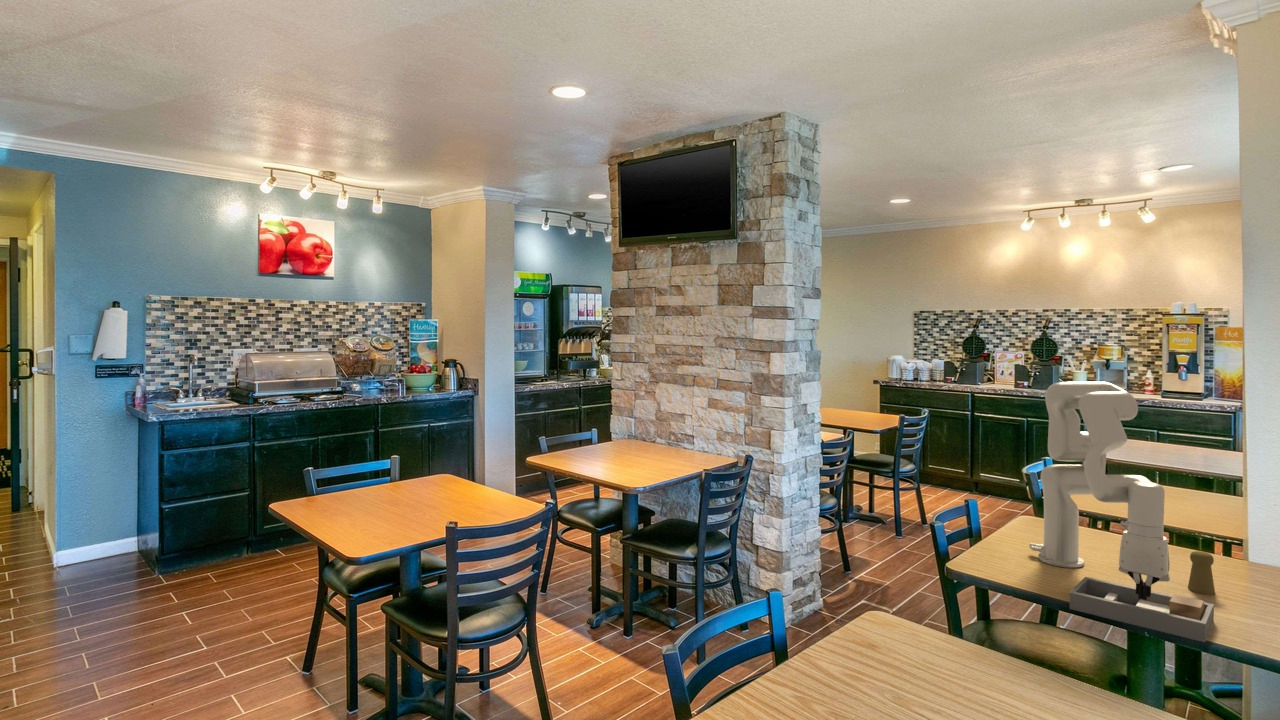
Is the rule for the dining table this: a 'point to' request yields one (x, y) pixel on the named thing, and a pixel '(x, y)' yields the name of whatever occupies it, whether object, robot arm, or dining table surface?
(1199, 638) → the channel
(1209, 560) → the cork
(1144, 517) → the robot arm
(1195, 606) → the walnut block
